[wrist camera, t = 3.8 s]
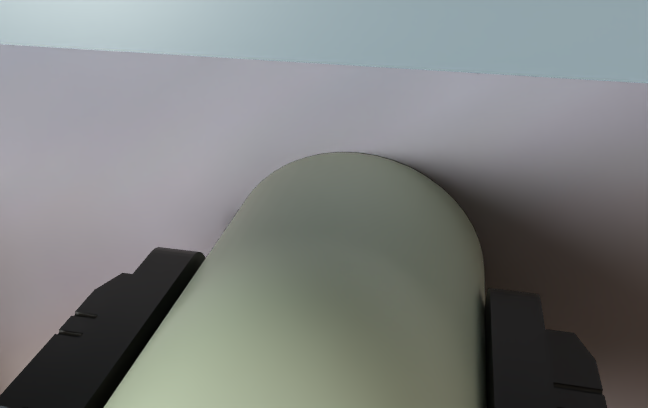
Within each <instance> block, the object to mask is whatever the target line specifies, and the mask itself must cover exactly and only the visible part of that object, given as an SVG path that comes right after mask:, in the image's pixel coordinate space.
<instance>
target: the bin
mask: <svg viewBox="0 0 648 408" xmlns="http://www.w3.org/2000/svg"><path fill="white" fill-rule="evenodd" d="M0 44H5V45H22V46H38V47H55V48H71V49H88V50H105V51H121V52H138V53H154V54H171V55H187V56H204V57H220V58H237V59H253V60H270V61H287V62H303V63H320V64H336V65H353V66H369V67H386V68H402V69H419V70H435V71H452V72H468V73H485V74H502V75H518V76H535V77H551V78H568V79H584V80H601V81H617V82H634V83H648V0H0Z"/></svg>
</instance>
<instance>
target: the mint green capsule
mask: <svg viewBox="0 0 648 408" xmlns="http://www.w3.org/2000/svg"><path fill="white" fill-rule="evenodd" d="M104 408H487V388H486V347H485V276H484V261H483V254H482V250H481V246H480V242H479V239H478V237H477V235H476V232H475V230H474V228H473V226H472V224H471V222H470V221H469V219H468V217H467V216H466V214H465V213H464V211H463V210H462V209H461V208H460V206H459V205H458V204H457V203H456V201H455V200H454V199H453V198H452V197H451V196H450V195H449V194H448V193H447V192H446V191H444V190H443V189H442V188H441V187H440V186H439V185H437V184H436V183H435V182H433V181H432V180H430V179H429V178H428V177H426V176H425V175H423V174H421V173H419V172H417V171H416V170H414V169H412V168H410V167H408V166H405V165H403V164H400V163H398V162H395V161H393V160H390V159H386V158H382V157H379V156H375V155H368V154H362V153H348V152H336V153H325V154H318V155H314V156H310V157H305V158H302V159H299V160H297V161H294V162H291V163H289V164H287V165H285V166H283V167H281V168H280V169H278V170H276V171H274V172H273V173H272V174H270V175H269V176H268V177H266V178H265V179H264V180H262V181H261V182H260V183H259V184H258V185H257V186H256V187H255V188H254V190H253V191H252V192H251V193H250V195H249V196H248V197H247V199H246V200H245V202H244V203H243V205H242V206H241V208H240V209H239V210H238V212H237V213H236V215H235V216H234V218H233V219H232V221H231V222H230V224H229V225H228V226H227V228H226V229H225V231H224V232H223V234H222V235H221V237H220V238H219V240H218V241H217V243H216V244H215V245H214V247H213V248H212V250H211V251H210V253H209V254H208V256H207V257H206V259H205V260H204V262H203V263H202V264H201V266H200V267H199V269H198V270H197V272H196V273H195V275H194V276H193V278H192V279H191V281H190V282H189V283H188V285H187V286H186V288H185V289H184V291H183V292H182V294H181V295H180V297H179V298H178V300H177V301H176V302H175V304H174V305H173V307H172V308H171V310H170V311H169V313H168V314H167V316H166V317H165V318H164V320H163V321H162V323H161V324H160V326H159V327H158V329H157V330H156V332H155V333H154V335H153V336H152V337H151V339H150V340H149V342H148V343H147V345H146V346H145V348H144V349H143V351H142V352H141V354H140V355H139V356H138V358H137V359H136V361H135V362H134V364H133V365H132V367H131V368H130V370H129V371H128V373H127V374H126V375H125V377H124V378H123V380H122V381H121V383H120V384H119V386H118V387H117V389H116V390H115V391H114V393H113V394H112V396H111V397H110V399H109V400H108V402H107V403H106V405H105V406H104Z"/></svg>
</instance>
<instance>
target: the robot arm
mask: <svg viewBox="0 0 648 408" xmlns="http://www.w3.org/2000/svg"><path fill="white" fill-rule="evenodd" d="M204 260H205V256H204V255H203V253H201V252H194V251H186V250H178V249H170V248H161V247H158V248H155V249H154V250H153V251H152V252H151V253H150V254H149V255H148V256H147V258H146V259H145V260H144V261H143V262H142V264H141V265H140V266H139V267H138V268H137V270H136V271H135V272H134V273H133V274H127V273H122V274H120V275H118V276H117V277H115V278H113V279H112V280H110V281H108V282H107V283H105V284H103V285H102V286H100V287H99V288H97V289H95V290H94V291H93V292H92V293H91V294H90V296H89V297H88V298H87V299H86V300H85V301H84V302H83V303H82V305H81V306H80V307H79V308H78V309H77V310H76V311H75V316H71V317H70V318H69V319H68V320H67V321H66V322H65V324H64V325H63V326H62V327H61V328H60V329H59V334H55V335H54V336H53V337H52V338H51V339H50V340H49V341H48V343H47V344H46V345H45V346H44V347H43V348H42V349H41V350H40V352H39V353H38V354H37V355H36V356H35V357H34V358H33V359H32V361H31V362H30V363H29V364H28V365H27V366H26V367H25V368H24V369H23V371H22V372H21V373H20V374H19V375H18V376H17V377H16V378H15V380H14V381H13V382H12V383H11V384H10V385H9V386H8V387H7V389H6V390H5V391H4V392H3V393H2V394H1V395H0V408H104V406H105V405H106V403H107V402H108V400H109V399H110V397H111V396H112V394H113V393H114V391H115V390H116V389H117V387H118V386H119V384H120V383H121V381H122V380H123V378H124V377H125V375H126V374H127V373H128V371H129V370H130V368H131V367H132V365H133V364H134V362H135V361H136V359H137V358H138V356H139V355H140V354H141V352H142V351H143V349H144V348H145V346H146V345H147V343H148V342H149V340H150V339H151V337H152V336H153V335H154V333H155V332H156V330H157V329H158V327H159V326H160V324H161V323H162V321H163V320H164V318H165V317H166V316H167V314H168V313H169V311H170V310H171V308H172V307H173V305H174V304H175V302H176V301H177V300H178V298H179V297H180V295H181V294H182V292H183V291H184V289H185V288H186V286H187V285H188V283H189V282H190V281H191V279H192V278H193V276H194V275H195V273H196V272H197V270H198V269H199V267H200V266H201V264H202V263H203V262H204ZM485 347H486V388H487V408H607V405H606V401H605V397H604V395H602V390H603V389H602V385H601V381H600V376H599V372H598V368H597V364H596V360H595V359H594V358H593V356H592V355H591V354H590V352H589V351H588V350H587V349H586V347H585V346H584V345H583V344H582V342H581V341H580V340H579V339H578V337H577V336H576V335H575V334H574V333H570V332H562V331H555V330H547V329H545V325H544V319H543V312H542V306H541V300H540V296H539V294H534V293H526V292H517V291H509V290H501V289H493V288H488V291H487V295H486V300H485Z"/></svg>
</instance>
